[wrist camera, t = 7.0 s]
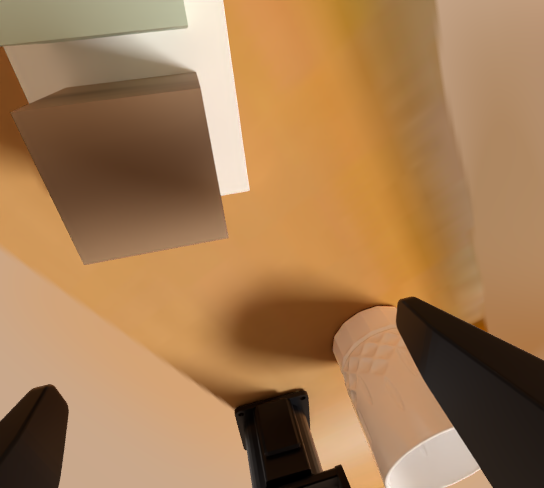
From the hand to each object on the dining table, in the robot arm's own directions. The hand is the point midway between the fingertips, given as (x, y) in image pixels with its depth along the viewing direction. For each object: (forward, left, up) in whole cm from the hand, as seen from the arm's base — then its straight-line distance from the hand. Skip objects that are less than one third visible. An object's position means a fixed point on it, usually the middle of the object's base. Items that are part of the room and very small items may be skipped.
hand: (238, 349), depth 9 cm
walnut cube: (+3, +2, -10) cm, 10 cm away
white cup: (-15, -10, -12) cm, 22 cm away
